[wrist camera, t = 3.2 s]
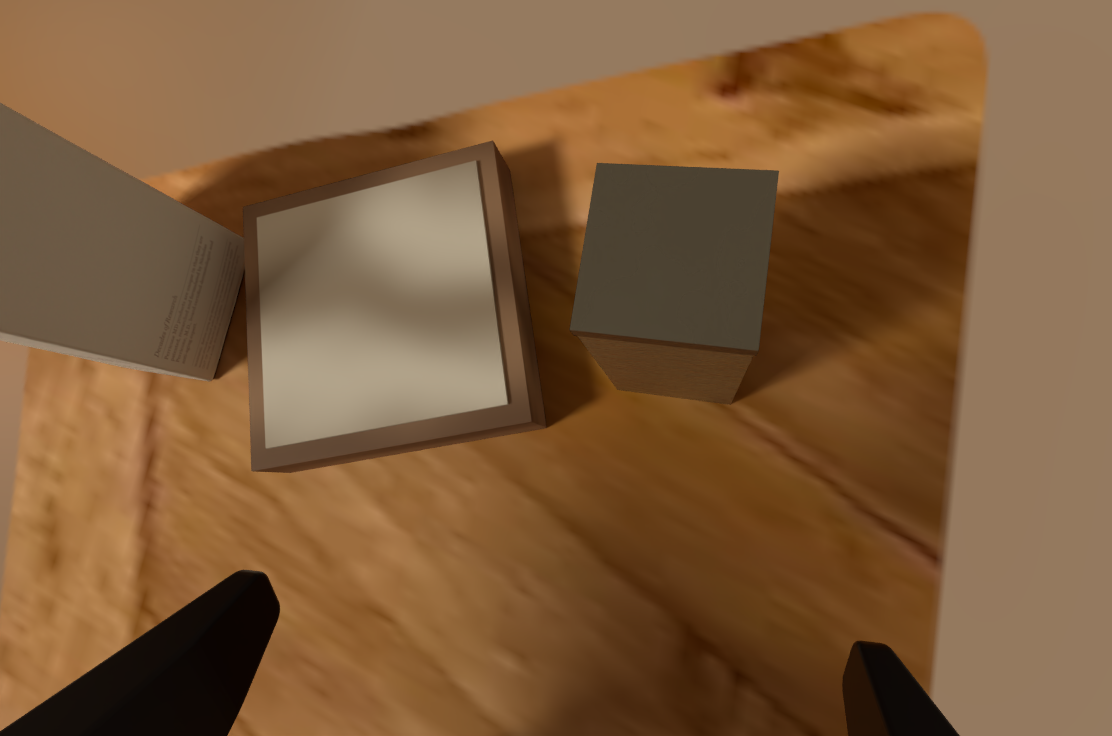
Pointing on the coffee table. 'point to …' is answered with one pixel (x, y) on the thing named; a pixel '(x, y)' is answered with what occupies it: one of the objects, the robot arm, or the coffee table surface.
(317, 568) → the coffee table surface
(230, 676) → the robot arm
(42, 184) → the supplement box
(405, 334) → the brown framed square mirror
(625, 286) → the olive grey square block
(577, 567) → the coffee table surface
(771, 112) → the coffee table surface
